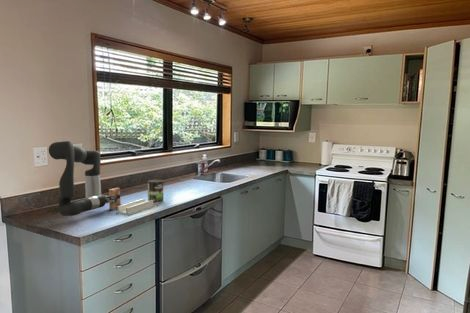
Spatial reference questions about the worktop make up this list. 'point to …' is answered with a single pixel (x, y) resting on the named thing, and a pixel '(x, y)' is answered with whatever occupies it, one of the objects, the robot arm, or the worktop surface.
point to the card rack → (134, 207)
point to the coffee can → (155, 190)
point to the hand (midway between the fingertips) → (117, 196)
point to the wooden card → (113, 193)
